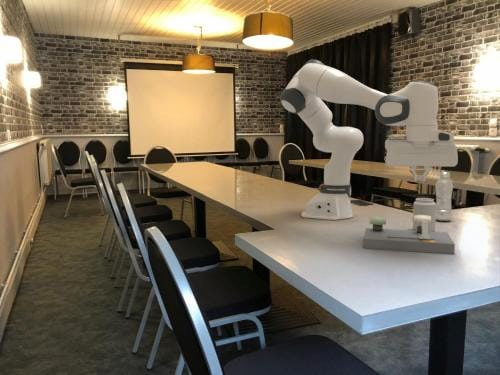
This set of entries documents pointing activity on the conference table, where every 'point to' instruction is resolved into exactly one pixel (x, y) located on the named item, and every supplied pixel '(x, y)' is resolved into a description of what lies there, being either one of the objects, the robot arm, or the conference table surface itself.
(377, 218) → the sage button
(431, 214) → the can
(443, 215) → the plastic bottle
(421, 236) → the paddle lever
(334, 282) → the conference table surface
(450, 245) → the control panel
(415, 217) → the cream button
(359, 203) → the phone
